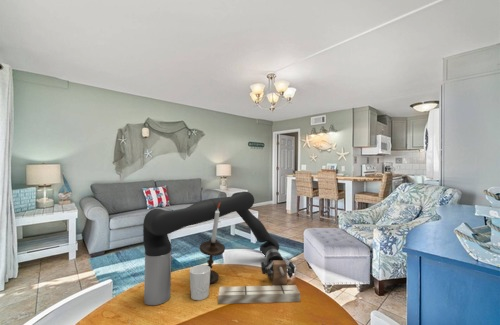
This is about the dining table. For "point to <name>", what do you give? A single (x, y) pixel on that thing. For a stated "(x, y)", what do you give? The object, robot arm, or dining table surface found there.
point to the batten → (258, 294)
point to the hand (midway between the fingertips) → (280, 275)
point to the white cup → (199, 282)
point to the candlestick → (213, 248)
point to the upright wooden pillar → (279, 272)
